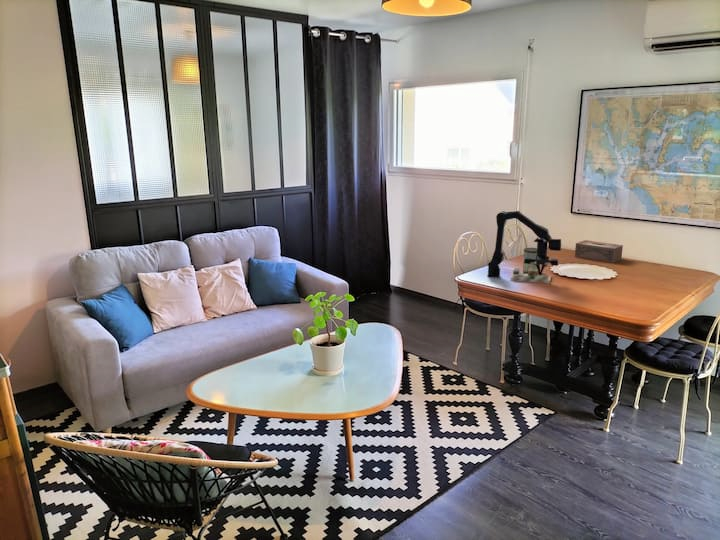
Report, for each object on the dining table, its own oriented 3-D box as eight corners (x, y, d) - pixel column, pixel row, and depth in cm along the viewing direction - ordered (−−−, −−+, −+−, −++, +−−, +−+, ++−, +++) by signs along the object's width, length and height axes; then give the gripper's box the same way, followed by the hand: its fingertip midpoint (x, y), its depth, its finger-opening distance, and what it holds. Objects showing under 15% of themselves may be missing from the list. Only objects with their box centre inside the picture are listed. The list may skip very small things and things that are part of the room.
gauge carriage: (522, 278, 304) (522, 271, 303) (523, 274, 313) (523, 267, 312) (536, 279, 301) (536, 272, 300) (537, 275, 310) (537, 268, 309)
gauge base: (510, 280, 307) (511, 272, 306) (512, 275, 318) (513, 267, 317) (549, 283, 299) (550, 274, 298) (550, 277, 310) (551, 269, 309)
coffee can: (520, 269, 332) (522, 247, 328) (537, 269, 331) (538, 247, 327) (524, 273, 322) (525, 251, 318) (541, 273, 321) (542, 251, 317)
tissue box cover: (574, 257, 360) (575, 243, 358) (583, 253, 370) (585, 240, 367) (612, 263, 342) (614, 248, 339) (621, 259, 351) (622, 245, 349)
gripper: (524, 251, 297) (522, 277, 301) (558, 253, 291) (556, 280, 295) (525, 247, 307) (524, 272, 311) (559, 249, 301) (557, 275, 305)
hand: (540, 275), depth 305 cm, fingers closed
